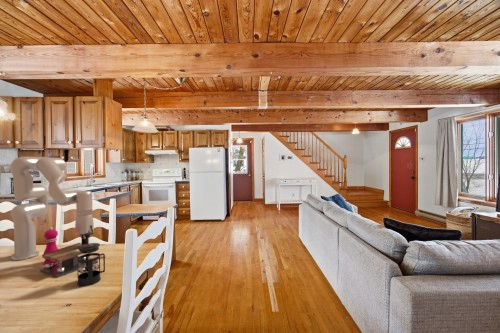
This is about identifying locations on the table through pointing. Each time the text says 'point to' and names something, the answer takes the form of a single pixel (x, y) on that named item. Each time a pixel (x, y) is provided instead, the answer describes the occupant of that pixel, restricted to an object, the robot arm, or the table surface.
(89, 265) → the french press
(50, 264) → the board stand
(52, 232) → the pepper mill
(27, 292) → the table surface
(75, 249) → the board
